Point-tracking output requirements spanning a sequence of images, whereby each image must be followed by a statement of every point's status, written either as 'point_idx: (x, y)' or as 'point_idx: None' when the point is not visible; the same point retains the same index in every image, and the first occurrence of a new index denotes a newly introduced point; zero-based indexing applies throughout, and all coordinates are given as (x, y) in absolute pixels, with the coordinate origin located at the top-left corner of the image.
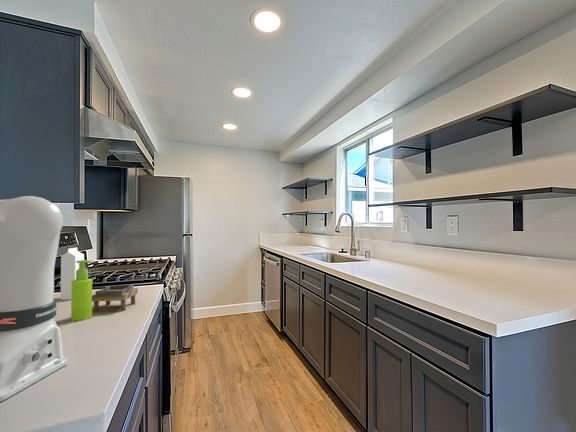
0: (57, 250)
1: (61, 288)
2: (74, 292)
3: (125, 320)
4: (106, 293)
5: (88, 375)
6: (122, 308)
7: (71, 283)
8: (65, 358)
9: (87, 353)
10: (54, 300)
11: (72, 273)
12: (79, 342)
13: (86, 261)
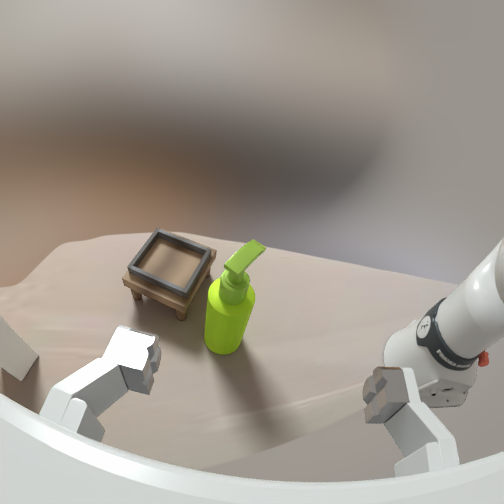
0: (496, 246)
1: (8, 370)
2: (247, 321)
3: (276, 273)
4: (197, 276)
5: (432, 300)
6: (209, 272)
7: (236, 318)
8: (414, 321)
9: (392, 308)
10: (444, 298)
11: (3, 328)
12: (357, 323)
13: (261, 251)
